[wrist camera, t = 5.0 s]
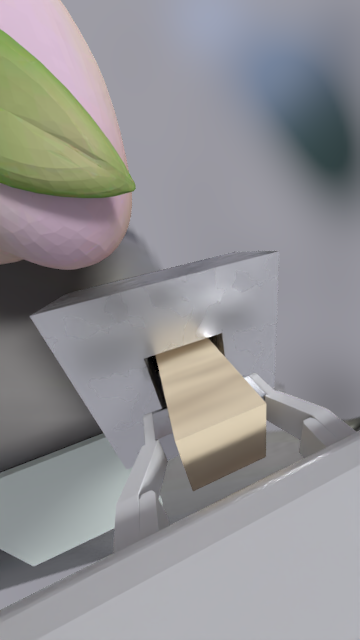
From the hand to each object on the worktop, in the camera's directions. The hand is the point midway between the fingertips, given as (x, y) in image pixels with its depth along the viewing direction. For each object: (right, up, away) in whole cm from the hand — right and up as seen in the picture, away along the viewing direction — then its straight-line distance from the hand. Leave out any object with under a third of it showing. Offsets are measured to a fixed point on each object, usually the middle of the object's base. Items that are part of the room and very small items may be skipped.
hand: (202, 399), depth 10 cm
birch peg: (-2, +2, +6) cm, 7 cm away
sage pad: (-14, -17, +11) cm, 25 cm away
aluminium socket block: (-2, +3, +6) cm, 7 cm away
